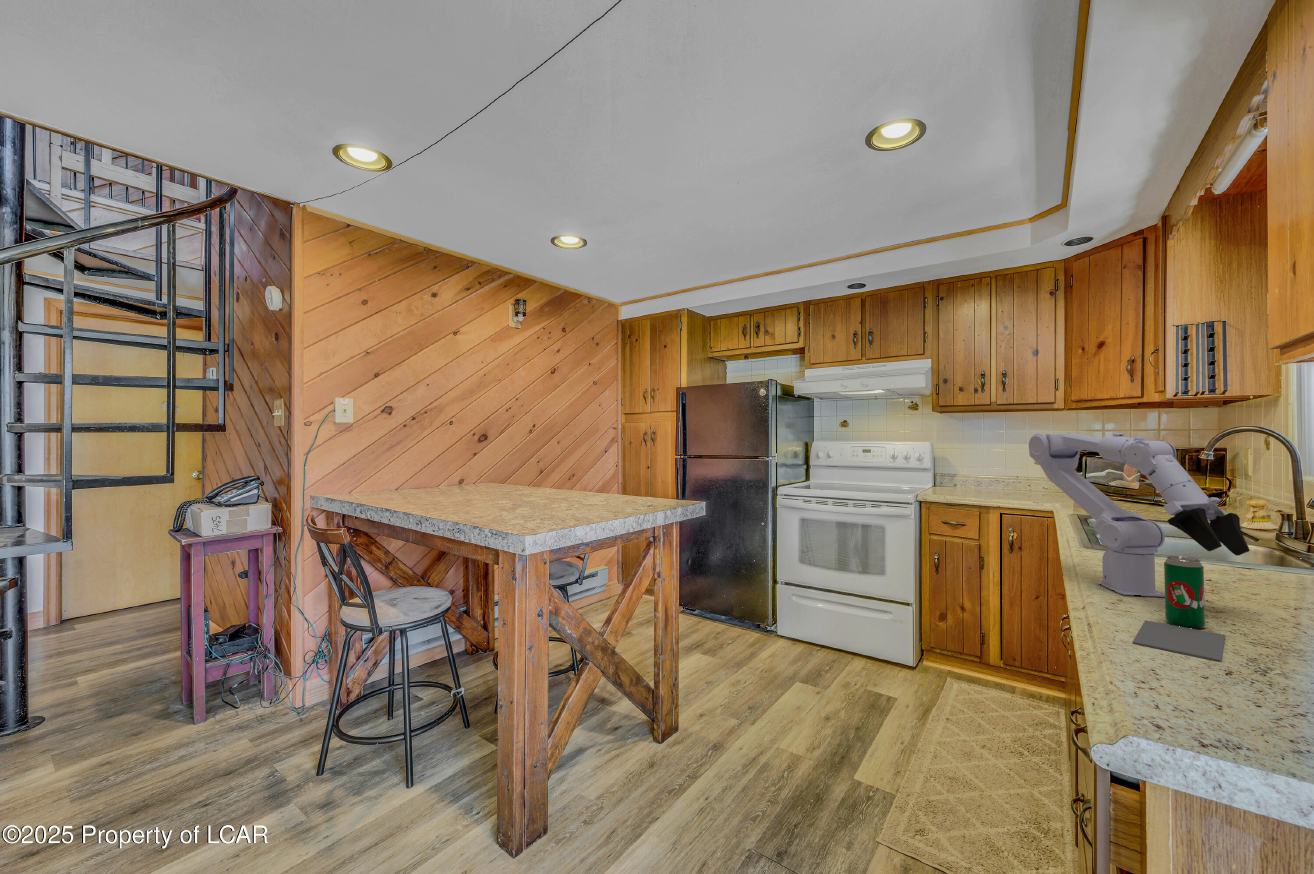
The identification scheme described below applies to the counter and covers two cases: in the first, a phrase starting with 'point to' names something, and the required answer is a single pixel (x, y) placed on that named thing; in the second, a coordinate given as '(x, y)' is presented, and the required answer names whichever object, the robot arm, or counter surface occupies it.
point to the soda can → (1184, 592)
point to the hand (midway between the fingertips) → (1229, 550)
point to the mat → (1181, 640)
